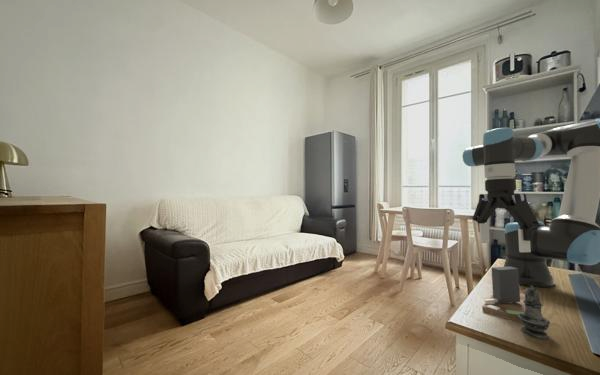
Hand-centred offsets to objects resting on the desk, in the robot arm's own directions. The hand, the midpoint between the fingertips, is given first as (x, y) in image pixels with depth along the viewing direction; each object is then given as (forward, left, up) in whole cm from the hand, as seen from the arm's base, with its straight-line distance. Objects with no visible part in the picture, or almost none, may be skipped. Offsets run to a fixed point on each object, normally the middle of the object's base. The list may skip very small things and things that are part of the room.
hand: (503, 247), depth 76 cm
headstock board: (-2, -1, -19) cm, 19 cm away
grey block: (+2, 0, -17) cm, 17 cm away
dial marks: (+5, +4, -17) cm, 18 cm away
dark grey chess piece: (+5, +13, -19) cm, 24 cm away
